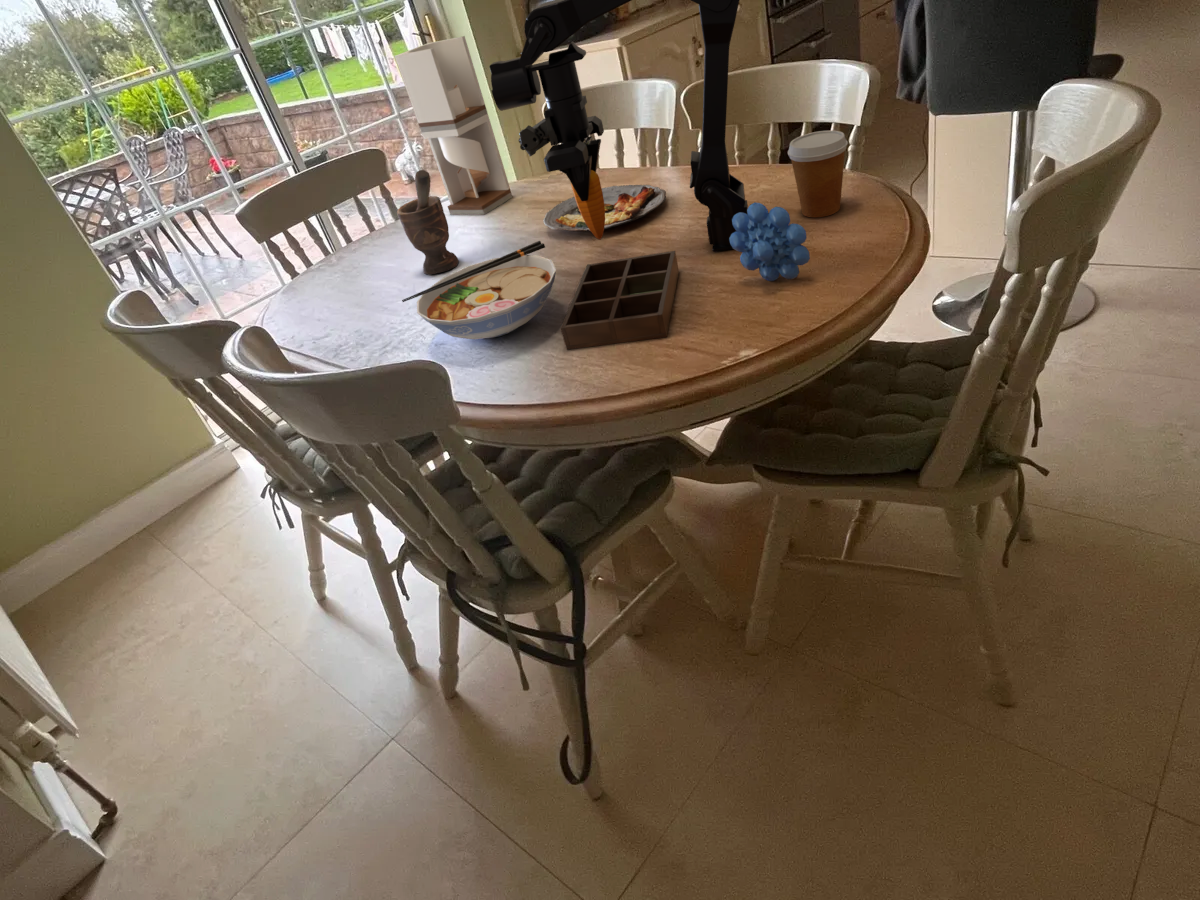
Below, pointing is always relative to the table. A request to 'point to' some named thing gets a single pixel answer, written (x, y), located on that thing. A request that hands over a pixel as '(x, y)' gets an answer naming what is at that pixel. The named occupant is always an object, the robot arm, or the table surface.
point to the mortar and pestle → (427, 227)
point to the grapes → (769, 242)
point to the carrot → (593, 206)
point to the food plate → (608, 207)
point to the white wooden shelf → (455, 124)
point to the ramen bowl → (489, 295)
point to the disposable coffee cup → (819, 171)
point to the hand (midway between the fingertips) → (587, 195)
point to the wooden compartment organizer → (622, 301)
